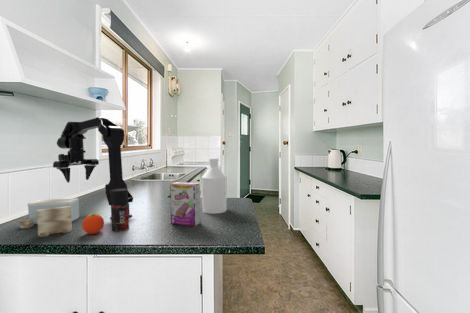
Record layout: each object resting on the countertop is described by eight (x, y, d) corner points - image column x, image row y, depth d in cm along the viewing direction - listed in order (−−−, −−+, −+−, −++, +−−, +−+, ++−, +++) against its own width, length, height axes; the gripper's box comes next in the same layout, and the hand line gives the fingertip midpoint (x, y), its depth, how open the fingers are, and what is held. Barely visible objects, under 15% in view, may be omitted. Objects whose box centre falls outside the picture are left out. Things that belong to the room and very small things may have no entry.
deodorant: (118, 233, 91) (116, 191, 90) (108, 230, 94) (106, 190, 94) (132, 228, 96) (131, 189, 95) (122, 225, 99) (121, 187, 99)
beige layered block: (71, 227, 97) (70, 204, 97) (72, 231, 93) (71, 207, 93) (38, 233, 91) (37, 209, 91) (38, 237, 87) (36, 212, 87)
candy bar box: (170, 224, 101) (169, 183, 100) (176, 220, 105) (176, 181, 104) (195, 227, 97) (194, 184, 96) (201, 223, 102) (200, 182, 101)
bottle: (214, 215, 112) (213, 159, 111) (196, 210, 120) (195, 158, 119) (232, 209, 121) (231, 158, 120) (214, 206, 129) (213, 157, 128)
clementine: (75, 235, 90) (74, 215, 89) (92, 228, 96) (92, 210, 96) (92, 237, 87) (91, 217, 86) (108, 231, 93) (108, 212, 93)
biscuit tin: (79, 217, 111) (78, 198, 111) (70, 222, 104) (69, 202, 104) (40, 219, 110) (39, 199, 109) (28, 224, 103) (27, 203, 102)
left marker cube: (33, 225, 101) (33, 218, 100) (28, 227, 98) (28, 220, 97) (25, 225, 100) (25, 218, 100) (20, 228, 97) (19, 220, 97)
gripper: (84, 148, 132) (85, 177, 133) (45, 149, 115) (46, 183, 116) (98, 148, 127) (100, 178, 128) (59, 149, 110) (61, 184, 111)
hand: (78, 181), depth 121 cm, fingers open, 9 cm apart
